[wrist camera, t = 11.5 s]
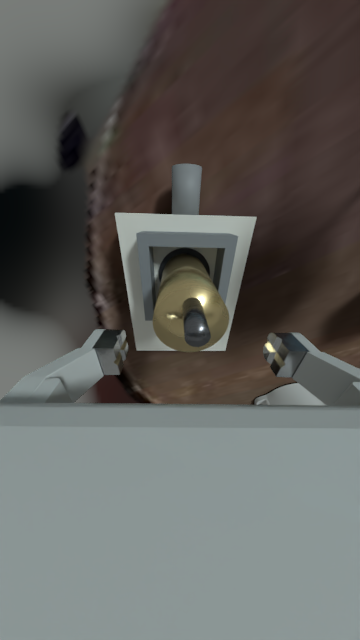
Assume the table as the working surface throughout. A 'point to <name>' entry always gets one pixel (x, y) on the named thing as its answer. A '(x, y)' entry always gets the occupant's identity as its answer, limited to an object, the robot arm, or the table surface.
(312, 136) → the table surface
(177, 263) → the spout can
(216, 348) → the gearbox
